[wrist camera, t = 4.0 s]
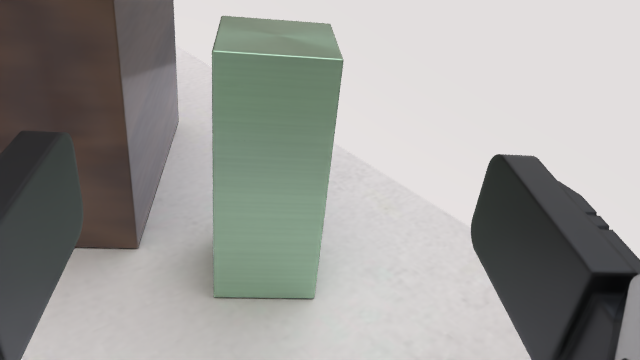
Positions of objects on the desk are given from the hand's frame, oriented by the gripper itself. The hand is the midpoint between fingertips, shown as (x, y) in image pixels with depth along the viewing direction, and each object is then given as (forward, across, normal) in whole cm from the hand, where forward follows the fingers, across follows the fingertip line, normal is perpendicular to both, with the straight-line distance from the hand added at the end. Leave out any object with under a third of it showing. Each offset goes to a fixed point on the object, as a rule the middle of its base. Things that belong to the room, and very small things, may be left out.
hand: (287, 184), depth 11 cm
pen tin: (+11, 0, +11) cm, 16 cm away
